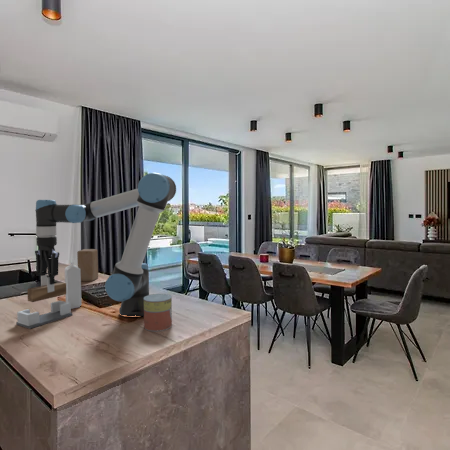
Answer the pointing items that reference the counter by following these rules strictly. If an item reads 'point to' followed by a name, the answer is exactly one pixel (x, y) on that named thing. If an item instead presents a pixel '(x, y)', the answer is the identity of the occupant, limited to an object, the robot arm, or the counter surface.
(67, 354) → the counter surface
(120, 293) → the robot arm
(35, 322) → the endcap rail
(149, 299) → the canned food
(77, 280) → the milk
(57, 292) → the slat
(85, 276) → the wooden block
